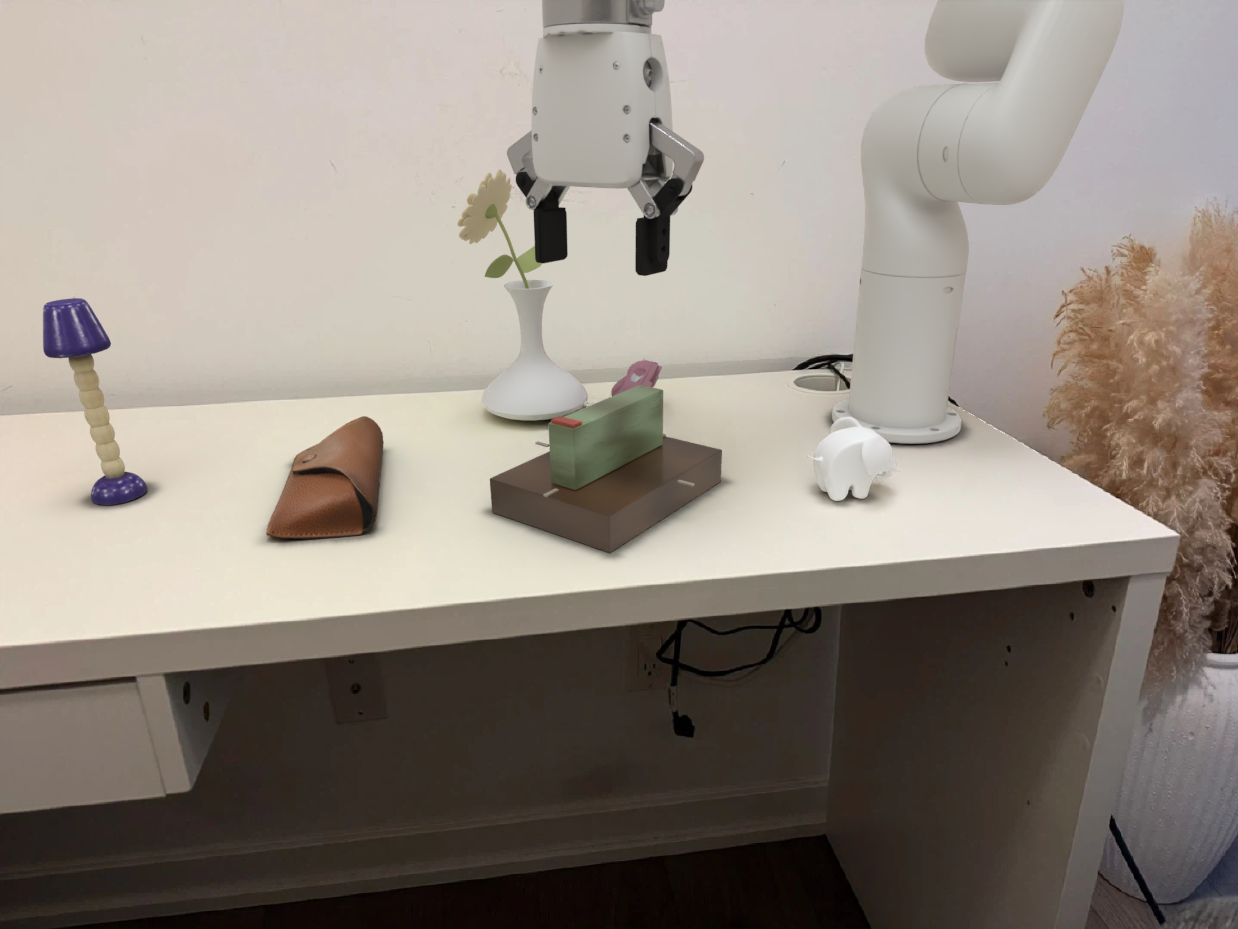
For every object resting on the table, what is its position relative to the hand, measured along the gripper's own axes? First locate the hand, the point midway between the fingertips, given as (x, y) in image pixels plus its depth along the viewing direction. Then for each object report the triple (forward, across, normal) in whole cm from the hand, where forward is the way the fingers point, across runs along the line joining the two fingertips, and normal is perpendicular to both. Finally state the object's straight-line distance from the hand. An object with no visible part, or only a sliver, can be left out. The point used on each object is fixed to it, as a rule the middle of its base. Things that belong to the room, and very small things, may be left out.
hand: (599, 266), depth 65 cm
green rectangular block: (+16, -1, 0) cm, 16 cm away
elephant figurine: (+19, -17, -12) cm, 28 cm away
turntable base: (+19, -1, 0) cm, 19 cm away
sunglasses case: (+19, +19, +13) cm, 30 cm away
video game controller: (+19, +10, -18) cm, 28 cm away
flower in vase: (+19, +19, -12) cm, 29 cm away
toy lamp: (+20, +34, +24) cm, 46 cm away
